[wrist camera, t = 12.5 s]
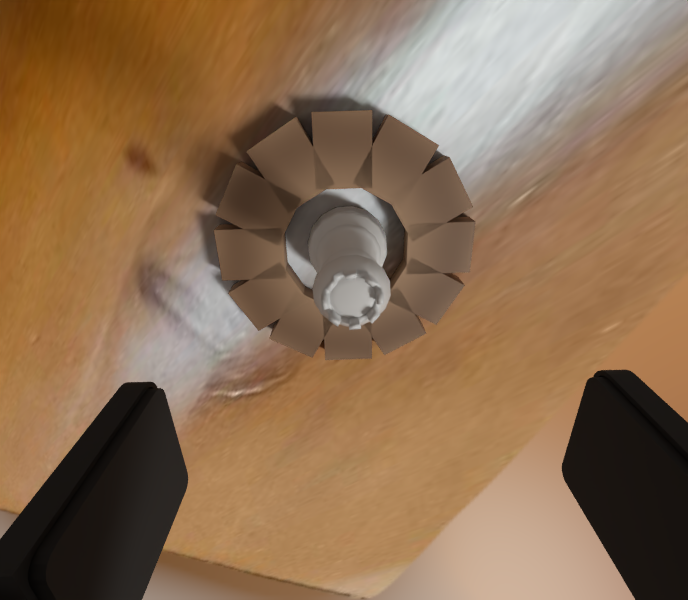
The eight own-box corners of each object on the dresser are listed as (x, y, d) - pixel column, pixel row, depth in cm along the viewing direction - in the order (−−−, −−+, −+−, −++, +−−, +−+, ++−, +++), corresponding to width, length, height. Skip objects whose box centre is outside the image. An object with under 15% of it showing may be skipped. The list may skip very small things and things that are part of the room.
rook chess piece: (305, 275, 24) (293, 345, 16) (311, 199, 22) (299, 242, 15) (379, 282, 24) (399, 354, 17) (391, 208, 22) (418, 253, 15)
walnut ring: (480, 107, 20) (488, 106, 19) (455, 345, 26) (460, 355, 25) (201, 115, 20) (194, 115, 19) (240, 352, 26) (236, 363, 25)
